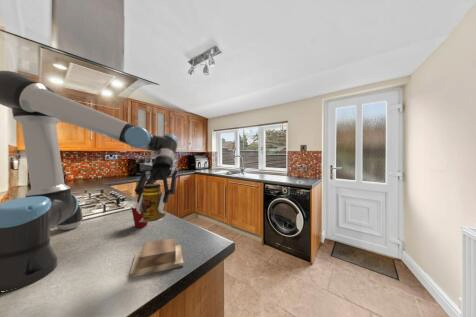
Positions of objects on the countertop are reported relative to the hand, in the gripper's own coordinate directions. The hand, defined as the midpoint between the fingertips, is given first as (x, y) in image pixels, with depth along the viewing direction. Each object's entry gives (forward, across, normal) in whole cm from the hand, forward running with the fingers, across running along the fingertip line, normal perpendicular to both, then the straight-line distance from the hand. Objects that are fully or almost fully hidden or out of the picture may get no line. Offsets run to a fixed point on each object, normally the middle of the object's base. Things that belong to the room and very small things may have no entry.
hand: (149, 211), depth 57 cm
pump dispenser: (-13, +53, -40) cm, 68 cm away
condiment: (0, 0, -5) cm, 5 cm away
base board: (+11, -1, -17) cm, 20 cm away
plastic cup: (-13, +18, -41) cm, 47 cm away
